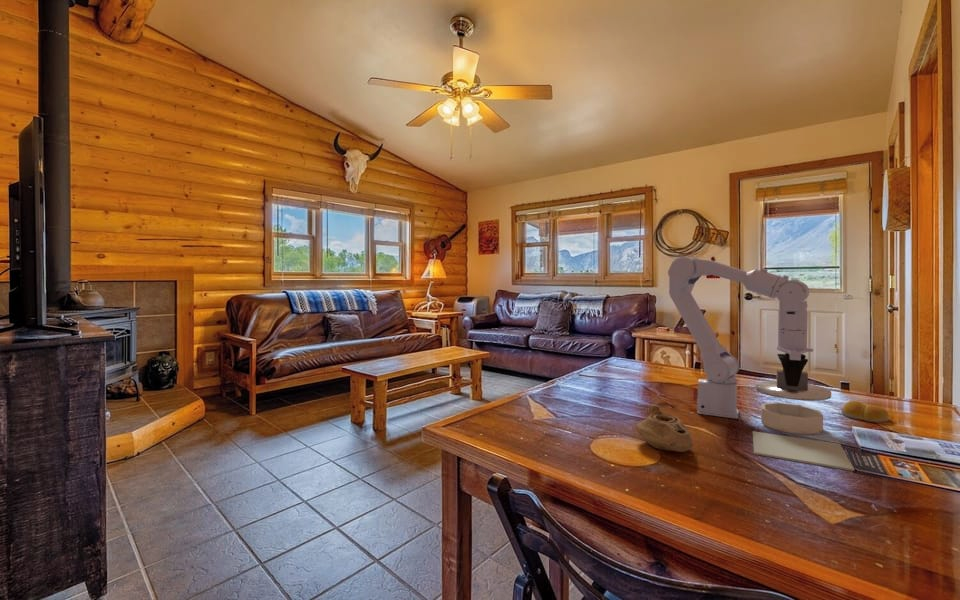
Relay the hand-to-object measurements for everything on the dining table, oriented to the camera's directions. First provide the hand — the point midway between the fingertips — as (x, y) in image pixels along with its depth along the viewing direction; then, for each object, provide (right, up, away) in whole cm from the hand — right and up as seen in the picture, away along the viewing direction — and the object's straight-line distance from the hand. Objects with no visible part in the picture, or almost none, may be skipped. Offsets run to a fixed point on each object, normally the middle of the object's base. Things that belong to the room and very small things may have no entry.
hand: (791, 384), depth 104 cm
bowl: (0, -10, +1) cm, 10 cm away
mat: (-9, -11, -13) cm, 20 cm away
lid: (0, -2, 0) cm, 2 cm away
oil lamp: (-35, -12, -11) cm, 39 cm away
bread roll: (+24, -10, +7) cm, 26 cm away
